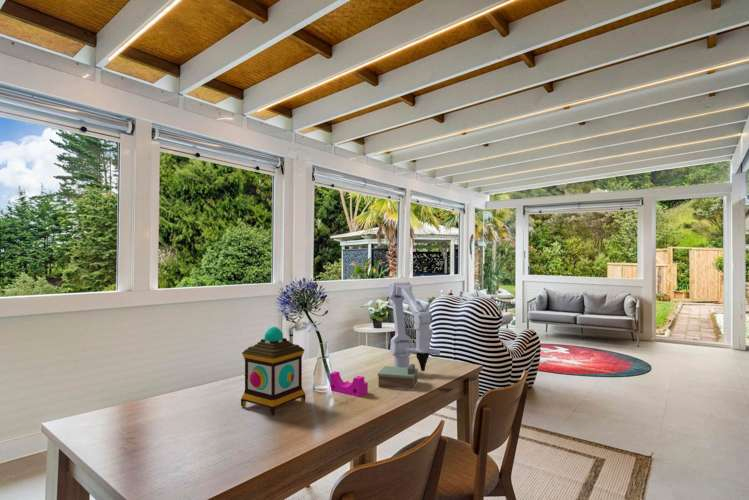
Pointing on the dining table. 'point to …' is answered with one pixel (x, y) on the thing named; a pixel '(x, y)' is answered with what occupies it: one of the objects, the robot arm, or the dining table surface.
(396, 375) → the lid
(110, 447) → the dining table surface
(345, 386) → the toy block
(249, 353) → the decorative lantern
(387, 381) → the brown wooden tray
